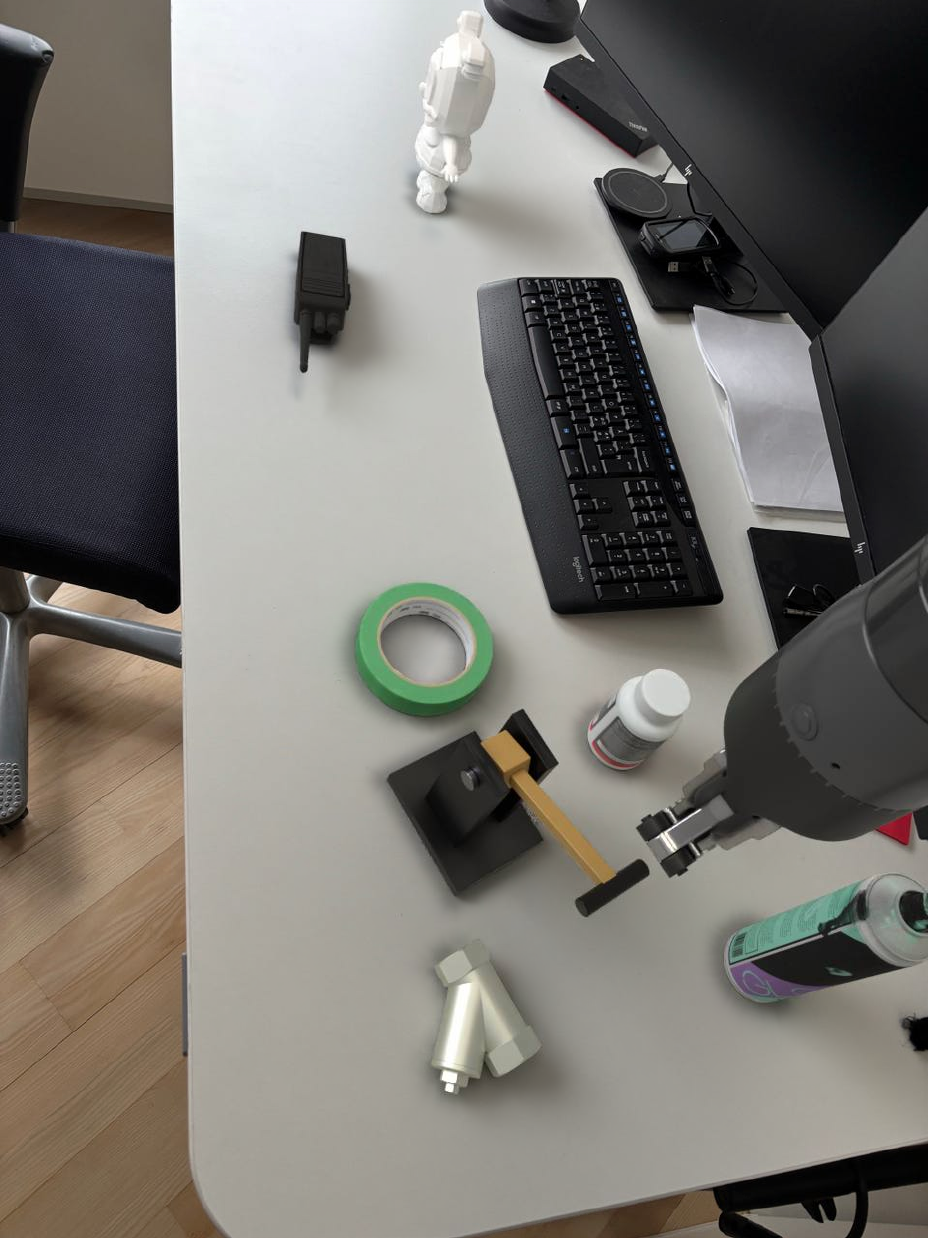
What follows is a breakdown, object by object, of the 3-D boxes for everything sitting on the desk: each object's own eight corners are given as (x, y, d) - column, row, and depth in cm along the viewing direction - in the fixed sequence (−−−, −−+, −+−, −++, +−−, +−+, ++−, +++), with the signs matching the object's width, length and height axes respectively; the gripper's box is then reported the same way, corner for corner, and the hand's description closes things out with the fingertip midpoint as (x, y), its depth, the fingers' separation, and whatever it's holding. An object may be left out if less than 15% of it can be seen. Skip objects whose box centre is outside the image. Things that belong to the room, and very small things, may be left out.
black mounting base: (539, 844, 71) (601, 789, 60) (454, 896, 67) (503, 847, 56) (471, 735, 74) (518, 665, 63) (386, 779, 70) (420, 712, 59)
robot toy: (397, 246, 100) (436, 72, 84) (398, 134, 110) (432, -41, 94) (463, 258, 102) (514, 90, 86) (458, 147, 112) (503, -22, 96)
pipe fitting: (448, 1107, 60) (531, 1049, 63) (459, 1108, 57) (546, 1046, 60) (389, 995, 63) (471, 943, 65) (395, 989, 59) (482, 935, 62)
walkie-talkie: (364, 251, 95) (366, 380, 84) (317, 280, 98) (313, 410, 86) (327, 205, 91) (323, 335, 80) (278, 237, 93) (269, 367, 82)
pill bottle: (653, 767, 76) (709, 721, 68) (595, 774, 75) (644, 728, 66) (635, 708, 79) (686, 657, 70) (578, 714, 77) (624, 662, 69)
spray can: (737, 1010, 68) (914, 964, 51) (713, 934, 70) (875, 866, 54) (799, 996, 70) (990, 947, 53) (773, 922, 72) (949, 854, 55)
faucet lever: (646, 884, 56) (654, 864, 55) (584, 926, 54) (591, 906, 53) (518, 742, 64) (522, 720, 62) (459, 773, 62) (462, 751, 60)
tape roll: (361, 719, 72) (366, 706, 70) (348, 598, 77) (353, 581, 75) (495, 713, 75) (504, 700, 73) (474, 597, 80) (482, 581, 78)
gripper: (823, 888, 29) (615, 974, 44) (1044, 718, 35) (796, 844, 50) (683, 695, 32) (530, 838, 46) (913, 566, 38) (713, 729, 52)
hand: (669, 841), depth 48 cm, fingers closed
